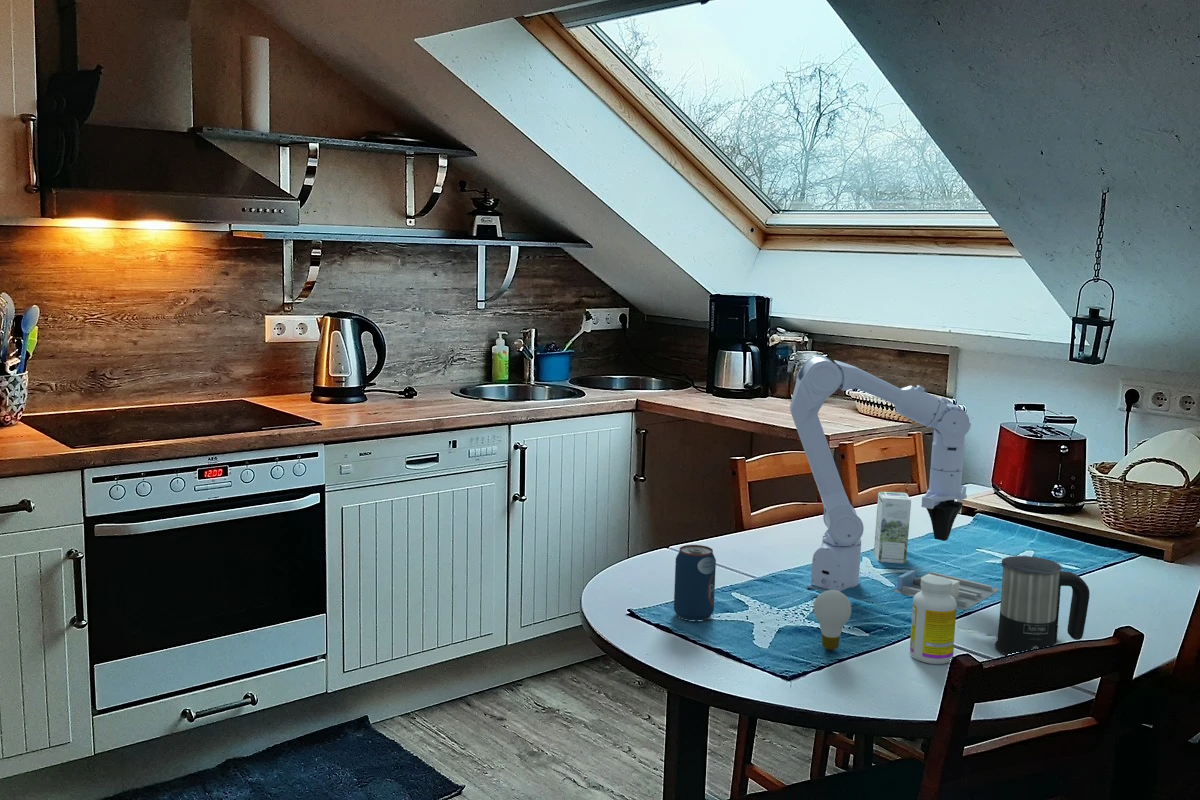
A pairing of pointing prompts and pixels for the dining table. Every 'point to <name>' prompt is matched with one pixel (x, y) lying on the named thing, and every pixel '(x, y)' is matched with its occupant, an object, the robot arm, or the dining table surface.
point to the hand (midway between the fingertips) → (941, 539)
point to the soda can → (694, 582)
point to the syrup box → (892, 527)
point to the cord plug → (954, 590)
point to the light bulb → (832, 616)
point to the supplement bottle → (933, 621)
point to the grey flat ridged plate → (967, 589)
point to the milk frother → (1037, 604)
